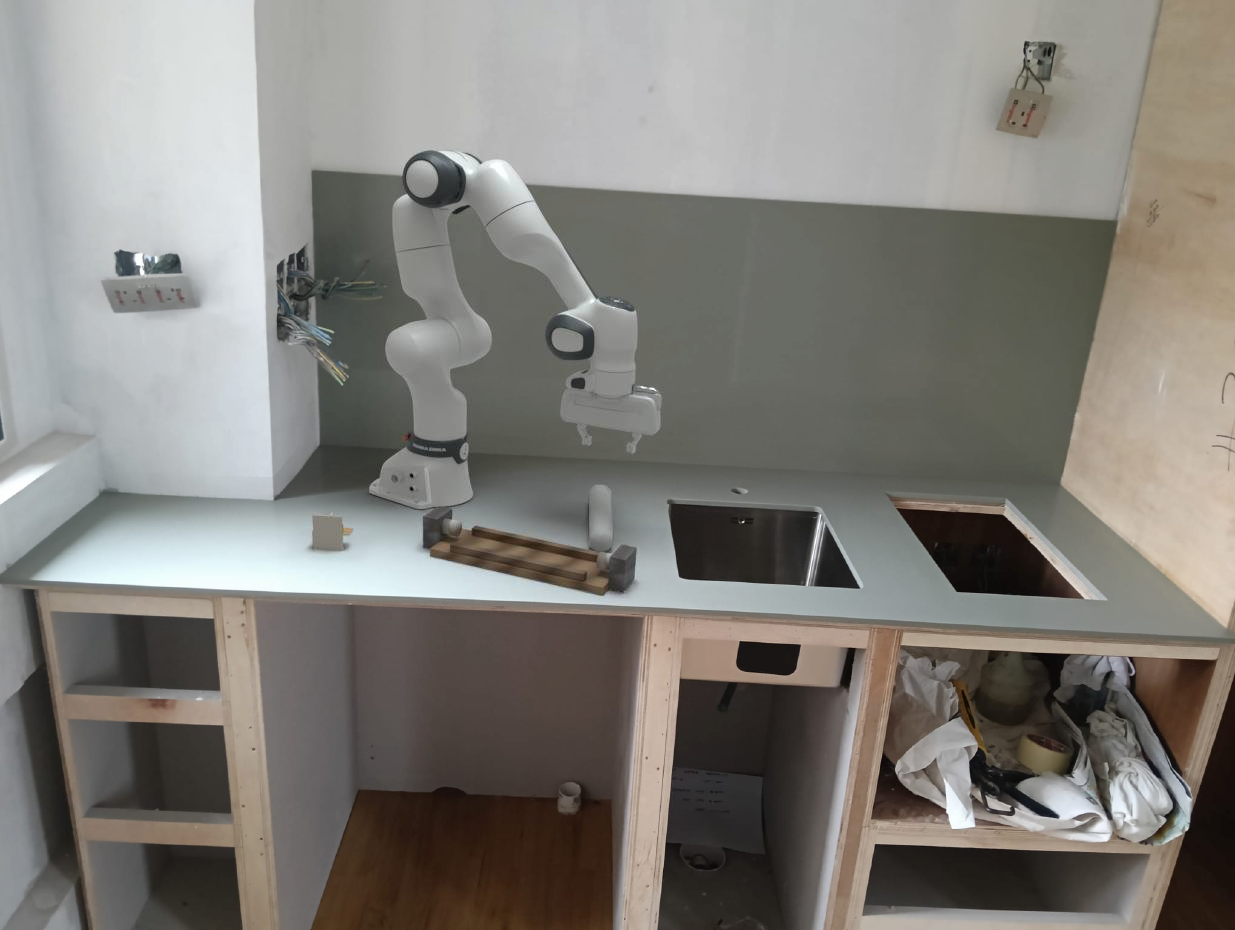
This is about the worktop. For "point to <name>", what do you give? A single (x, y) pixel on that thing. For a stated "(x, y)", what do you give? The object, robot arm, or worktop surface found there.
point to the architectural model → (329, 532)
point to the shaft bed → (528, 555)
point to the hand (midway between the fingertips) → (608, 448)
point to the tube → (600, 518)
